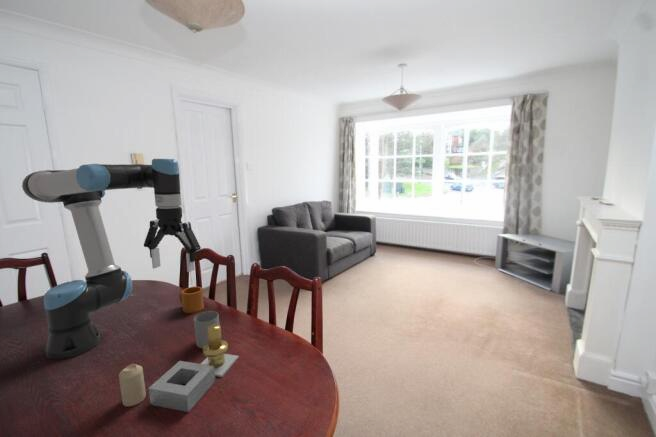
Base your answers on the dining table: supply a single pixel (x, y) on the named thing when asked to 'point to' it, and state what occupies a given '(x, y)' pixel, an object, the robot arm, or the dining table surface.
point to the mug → (192, 299)
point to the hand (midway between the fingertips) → (173, 269)
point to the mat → (225, 367)
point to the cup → (204, 326)
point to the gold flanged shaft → (215, 346)
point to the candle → (132, 385)
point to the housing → (179, 396)
